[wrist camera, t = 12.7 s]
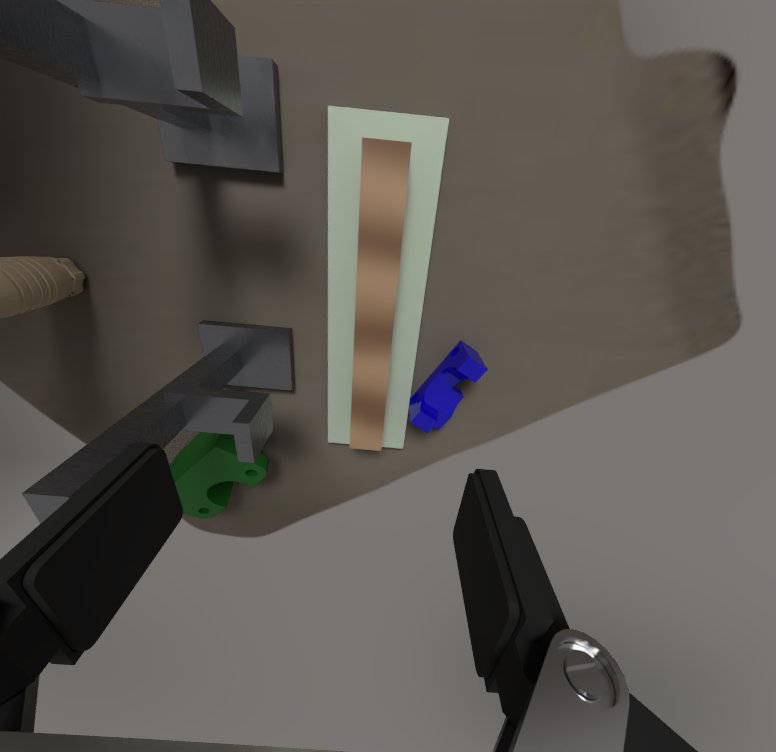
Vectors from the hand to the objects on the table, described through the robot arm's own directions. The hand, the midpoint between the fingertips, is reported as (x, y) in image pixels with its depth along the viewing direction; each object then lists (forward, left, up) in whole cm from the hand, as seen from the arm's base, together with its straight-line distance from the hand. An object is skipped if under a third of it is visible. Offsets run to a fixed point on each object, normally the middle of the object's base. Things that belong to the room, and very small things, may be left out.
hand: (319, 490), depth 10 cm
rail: (0, +1, -19) cm, 19 cm away
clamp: (+17, -15, -21) cm, 31 cm away
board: (0, +1, -20) cm, 20 cm away
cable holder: (+6, +8, -21) cm, 23 cm away
